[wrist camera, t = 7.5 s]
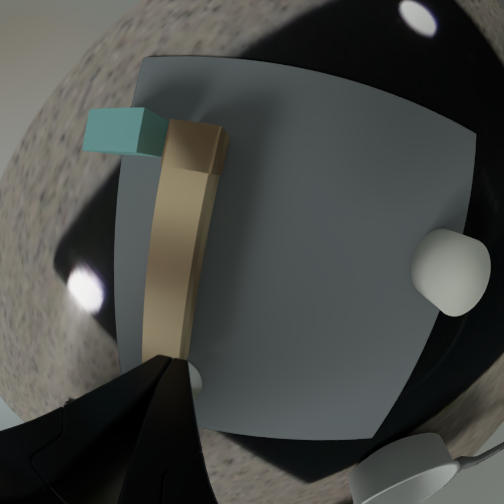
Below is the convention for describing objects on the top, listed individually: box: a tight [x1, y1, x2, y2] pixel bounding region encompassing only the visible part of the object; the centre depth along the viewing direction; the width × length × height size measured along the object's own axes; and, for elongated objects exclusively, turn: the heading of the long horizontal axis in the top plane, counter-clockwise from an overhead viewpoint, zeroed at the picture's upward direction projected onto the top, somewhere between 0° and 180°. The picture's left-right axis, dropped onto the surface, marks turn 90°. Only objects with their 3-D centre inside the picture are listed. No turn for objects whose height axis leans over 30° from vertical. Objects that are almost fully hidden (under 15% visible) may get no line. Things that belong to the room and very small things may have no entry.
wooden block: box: [142, 119, 230, 363], centre depth 13 cm, size 13×2×3 cm, turn 168°
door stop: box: [410, 228, 491, 316], centre depth 13 cm, size 4×4×3 cm
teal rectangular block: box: [82, 108, 169, 157], centre depth 12 cm, size 2×3×4 cm, turn 81°
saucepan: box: [349, 433, 504, 504], centre depth 17 cm, size 12×20×6 cm, turn 96°
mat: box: [114, 56, 476, 440], centre depth 15 cm, size 25×21×1 cm
